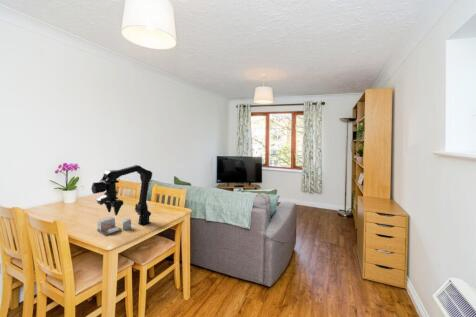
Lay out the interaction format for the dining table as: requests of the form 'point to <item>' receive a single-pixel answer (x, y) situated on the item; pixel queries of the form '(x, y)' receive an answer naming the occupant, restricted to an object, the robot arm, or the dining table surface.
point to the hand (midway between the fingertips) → (112, 213)
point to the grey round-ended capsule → (127, 224)
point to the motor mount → (107, 226)
